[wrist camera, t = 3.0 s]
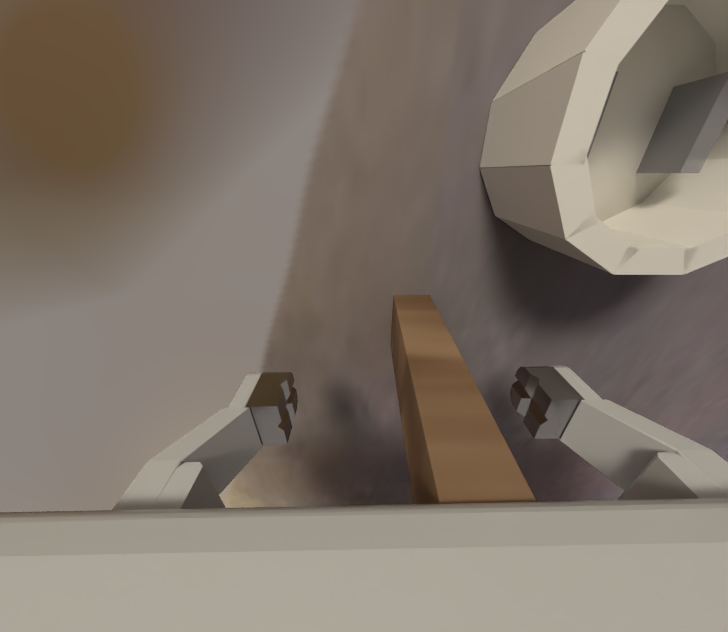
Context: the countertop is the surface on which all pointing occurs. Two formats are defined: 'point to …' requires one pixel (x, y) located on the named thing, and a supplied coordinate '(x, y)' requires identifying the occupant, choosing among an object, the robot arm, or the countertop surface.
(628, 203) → the faceted white cup
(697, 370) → the countertop surface
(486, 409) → the brown rectangular block
